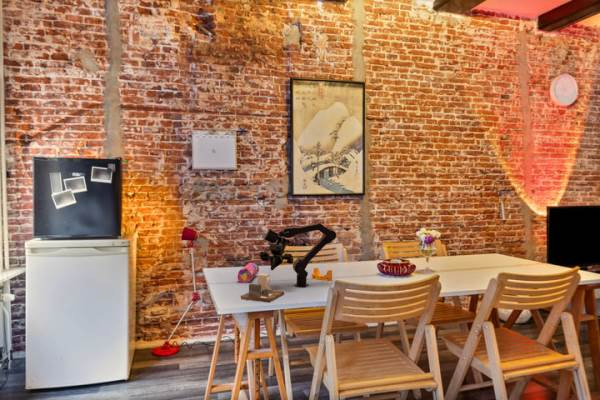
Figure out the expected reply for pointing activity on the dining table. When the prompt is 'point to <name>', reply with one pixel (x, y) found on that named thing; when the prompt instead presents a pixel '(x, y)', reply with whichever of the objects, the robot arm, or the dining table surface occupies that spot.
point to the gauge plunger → (264, 282)
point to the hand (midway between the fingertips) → (271, 270)
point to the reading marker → (265, 292)
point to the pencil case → (248, 273)
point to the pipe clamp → (319, 276)
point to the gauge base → (275, 295)
